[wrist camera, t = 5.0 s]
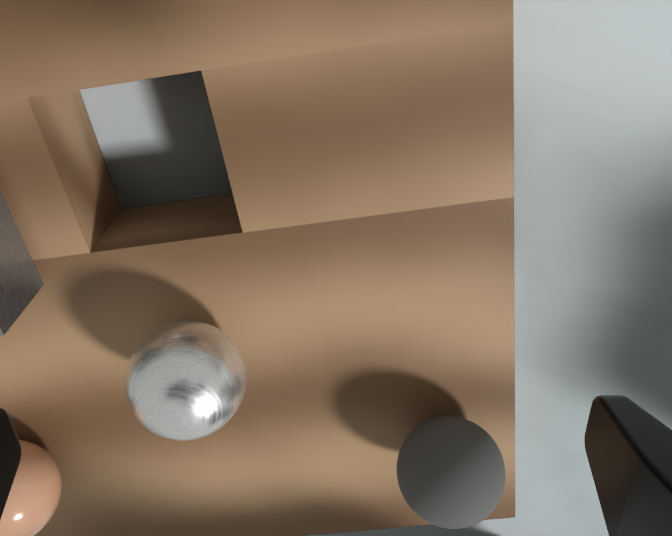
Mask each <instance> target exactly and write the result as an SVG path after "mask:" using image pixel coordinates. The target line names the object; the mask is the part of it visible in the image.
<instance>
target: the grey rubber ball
mask: <svg viewBox="0 0 672 536" xmlns="http://www.w3.org/2000/svg"><path fill="white" fill-rule="evenodd" d="M397 479H398V484H399V488H400V490H401V493H402V495H403V497H404V499H405V501H406V502H407V504H408V505H409V506H410V508H411V509H412V510H413V511H414V512H415V513H416V514H417V515H418V516H419V517H421V518H422V519H424V520H425V521H427V522H429V523H430V524H433V525H435V526H438V527H442V528H447V529H462V528H467V527H470V526H473V525H475V524H477V523H479V522H481V521H482V520H484V519H485V518H487V517H488V516H489V515H490V514H491V513H492V512H493V510H494V509H495V508H496V506H497V505H498V503H499V501H500V499H501V497H502V494H503V491H504V487H505V479H506V473H505V465H504V460H503V457H502V454H501V452H500V450H499V448H498V446H497V444H496V442H495V441H494V440H493V438H492V437H491V436H490V435H489V434H488V433H487V432H486V431H485V430H484V429H483V428H481V427H480V426H479V425H477V424H475V423H473V422H471V421H469V420H467V419H464V418H460V417H455V416H441V417H436V418H432V419H429V420H427V421H425V422H423V423H421V424H420V425H418V426H417V427H416V428H414V429H413V430H412V431H411V433H410V434H409V435H408V436H407V437H406V439H405V440H404V442H403V444H402V446H401V449H400V451H399V454H398V459H397Z"/></svg>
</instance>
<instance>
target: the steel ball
mask: <svg viewBox="0 0 672 536" xmlns="http://www.w3.org/2000/svg"><path fill="white" fill-rule="evenodd" d="M245 388H246V368H245V363H244V360H243V357H242V354H241V352H240V351H239V349H238V347H237V345H236V344H235V343H234V341H233V340H232V339H231V338H230V337H229V336H228V335H227V334H225V333H224V332H223V331H221V330H220V329H218V328H217V327H215V326H213V325H210V324H207V323H204V322H200V321H192V320H186V321H177V322H172V323H169V324H166V325H164V326H161V327H159V328H157V329H156V330H154V331H152V332H151V333H150V334H148V335H147V336H146V337H145V338H144V339H143V340H142V341H141V342H140V343H139V344H138V346H137V347H136V348H135V350H134V352H133V353H132V355H131V357H130V360H129V362H128V365H127V368H126V373H125V393H126V398H127V401H128V404H129V407H130V408H131V410H132V412H133V414H134V416H135V417H136V418H137V420H138V421H139V422H140V423H141V424H142V425H143V426H144V427H145V428H147V429H148V430H149V431H151V432H153V433H154V434H156V435H159V436H161V437H164V438H167V439H171V440H178V441H188V440H195V439H199V438H203V437H205V436H208V435H210V434H212V433H214V432H216V431H217V430H219V429H220V428H222V427H223V426H224V425H225V424H226V423H227V422H228V421H229V420H230V419H231V418H232V417H233V415H234V414H235V413H236V411H237V410H238V408H239V406H240V404H241V402H242V399H243V396H244V393H245Z"/></svg>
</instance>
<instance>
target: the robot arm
mask: <svg viewBox="0 0 672 536" xmlns="http://www.w3.org/2000/svg"><path fill="white" fill-rule="evenodd" d="M585 449H586V453H587V457H588V461H589V464H590V468H591V472H592V475H593V479H594V482H595V486H596V490H597V493H598V497H599V501H600V504H601V508H602V512H603V515H604V519H605V523H606V526H607V530H608V533H609V536H672V430H671V429H669V428H668V427H667V426H665V425H664V424H663V423H661V422H660V421H659V420H657V419H656V418H654V417H653V416H652V415H650V414H649V413H648V412H646V411H645V410H644V409H642V408H641V407H639V406H638V405H637V404H635V403H634V402H633V401H631V400H630V399H628V398H627V397H625V396H621V395H603V396H597V397H596V398H595V399H594V400H593V403H592V406H591V410H590V415H589V419H588V424H587V428H586V432H585ZM21 453H22V450H21V444H20V442H19V439H18V437H17V434H16V432H15V430H14V427H13V425H12V422H11V420H10V418H9V415H8V413H7V412H6V411H5V410H4V409H2V408H0V520H1V517H2V514H3V511H4V508H5V505H6V502H7V499H8V496H9V493H10V490H11V487H12V484H13V481H14V478H15V476H16V473H17V470H18V467H19V464H20V460H21Z"/></svg>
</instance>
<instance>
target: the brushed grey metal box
mask: <svg viewBox="0 0 672 536" xmlns="http://www.w3.org/2000/svg"><path fill="white" fill-rule="evenodd" d="M43 285H44V283H43V281H42V279H41V277H40V274H39V272H38V270H37V268H36V266H35V264H34V261H33V259H32V257H31V255H30V253H29V251H28V249H27V246H26V244H25V242H24V240H23V238H22V236H21V233H20V231H19V229H18V227H17V225H16V223H15V221H14V218H13V216H12V214H11V212H10V210H9V208H8V205H7V203H6V201H5V199H4V197H3V195H2V193H1V190H0V336H2V335H5V333H6V332H7V331H8V330H9V328H10V327H11V326H12V325H13V323H14V322H15V321H16V320H17V318H18V317H19V316H20V315H21V313H22V312H23V311H24V309H25V308H26V307H27V306H28V304H29V303H30V302H31V301H32V299H33V298H34V297H35V296H36V294H37V293H38V292H39V291H40V289H41V288H42V287H43Z"/></svg>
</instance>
